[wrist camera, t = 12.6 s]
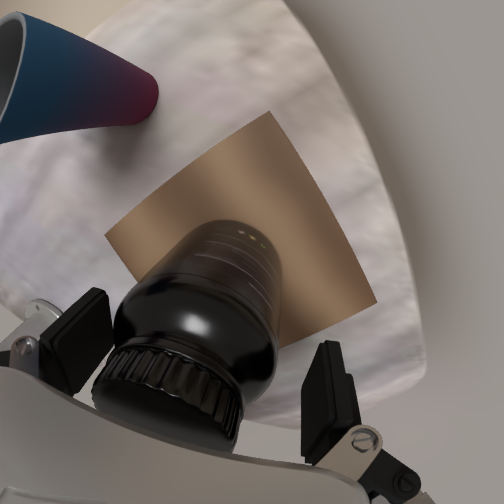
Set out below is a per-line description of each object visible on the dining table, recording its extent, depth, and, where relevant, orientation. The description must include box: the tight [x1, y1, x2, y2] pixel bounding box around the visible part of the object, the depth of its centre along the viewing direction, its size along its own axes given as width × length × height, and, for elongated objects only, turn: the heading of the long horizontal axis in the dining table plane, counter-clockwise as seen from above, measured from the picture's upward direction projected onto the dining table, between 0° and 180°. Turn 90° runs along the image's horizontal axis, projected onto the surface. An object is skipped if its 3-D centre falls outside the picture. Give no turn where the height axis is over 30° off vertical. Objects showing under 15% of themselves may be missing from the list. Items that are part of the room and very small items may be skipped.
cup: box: [0, 12, 158, 144], centre depth 12 cm, size 7×7×15 cm
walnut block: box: [105, 111, 377, 349], centre depth 21 cm, size 14×14×6 cm
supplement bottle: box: [91, 220, 282, 453], centre depth 12 cm, size 7×7×12 cm
